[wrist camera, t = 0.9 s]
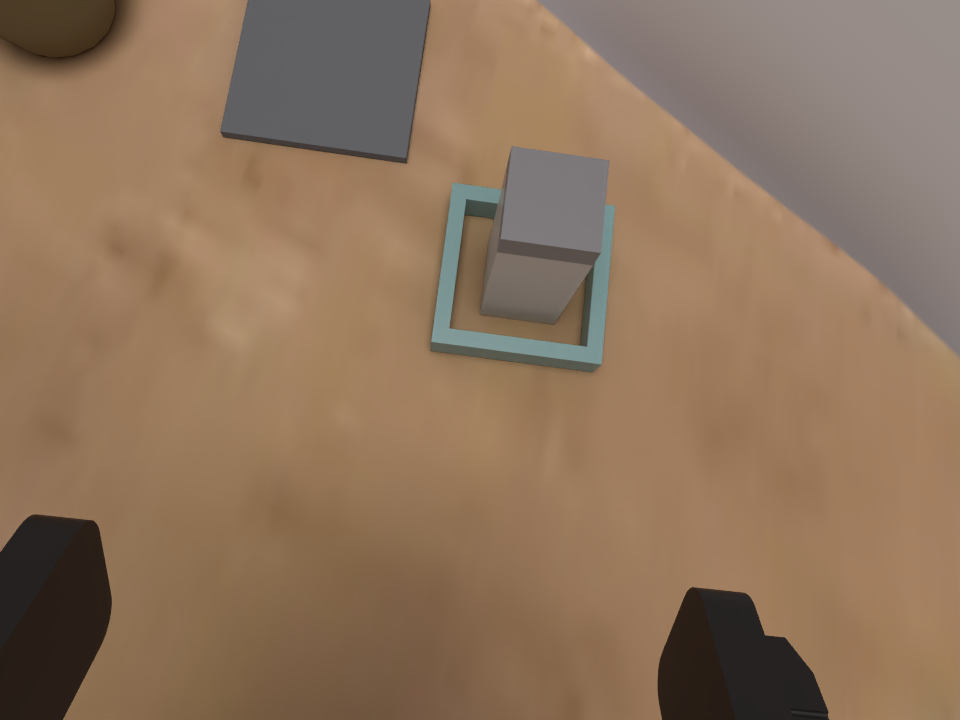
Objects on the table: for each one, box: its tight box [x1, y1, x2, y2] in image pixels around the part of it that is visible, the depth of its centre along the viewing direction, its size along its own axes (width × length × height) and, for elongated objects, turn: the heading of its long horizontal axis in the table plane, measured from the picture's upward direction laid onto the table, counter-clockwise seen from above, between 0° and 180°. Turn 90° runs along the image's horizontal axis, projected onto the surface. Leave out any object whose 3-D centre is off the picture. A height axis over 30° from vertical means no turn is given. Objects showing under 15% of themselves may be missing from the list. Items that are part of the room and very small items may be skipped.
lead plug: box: [480, 146, 609, 325], centre depth 36 cm, size 4×4×11 cm
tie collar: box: [431, 183, 615, 372], centre depth 41 cm, size 9×9×2 cm
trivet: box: [220, 0, 430, 163], centre depth 43 cm, size 10×10×1 cm
